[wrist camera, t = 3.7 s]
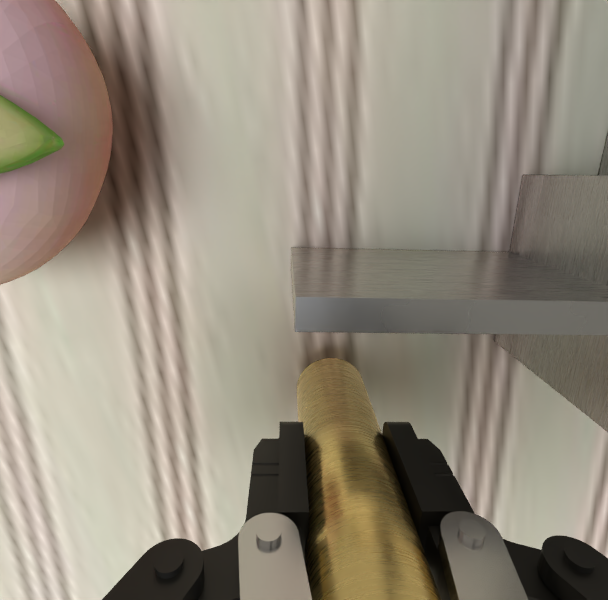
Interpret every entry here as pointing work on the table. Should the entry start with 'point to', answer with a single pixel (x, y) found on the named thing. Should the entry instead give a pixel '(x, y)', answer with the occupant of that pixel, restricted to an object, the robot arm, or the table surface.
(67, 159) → the decorative fruit
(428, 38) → the table surface
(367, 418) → the hinge pin
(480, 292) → the grey corner bracket
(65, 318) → the table surface
